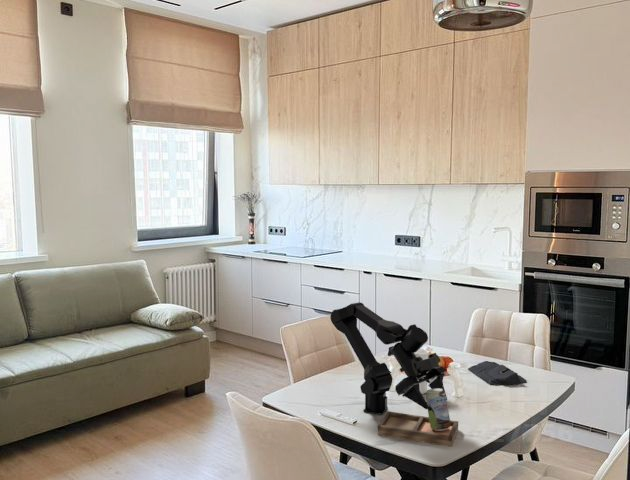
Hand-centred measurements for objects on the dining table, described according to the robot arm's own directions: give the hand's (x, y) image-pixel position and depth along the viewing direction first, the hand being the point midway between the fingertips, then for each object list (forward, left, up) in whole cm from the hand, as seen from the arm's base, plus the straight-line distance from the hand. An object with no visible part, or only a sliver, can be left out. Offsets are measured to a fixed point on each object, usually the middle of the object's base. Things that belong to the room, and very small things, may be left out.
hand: (437, 404), depth 172 cm
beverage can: (0, +1, -8) cm, 8 cm away
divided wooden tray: (-6, 0, -10) cm, 11 cm away
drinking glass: (-13, +34, -10) cm, 38 cm away
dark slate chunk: (+11, +62, -10) cm, 64 cm away
